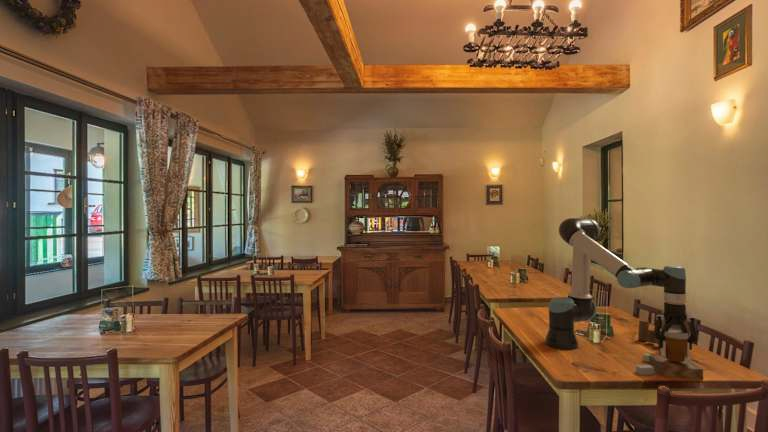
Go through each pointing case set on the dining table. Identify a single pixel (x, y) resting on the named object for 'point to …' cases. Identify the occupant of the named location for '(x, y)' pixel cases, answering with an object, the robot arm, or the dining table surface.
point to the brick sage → (646, 357)
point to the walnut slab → (676, 367)
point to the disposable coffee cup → (675, 344)
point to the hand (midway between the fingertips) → (674, 356)
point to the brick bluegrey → (644, 369)
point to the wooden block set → (646, 332)
